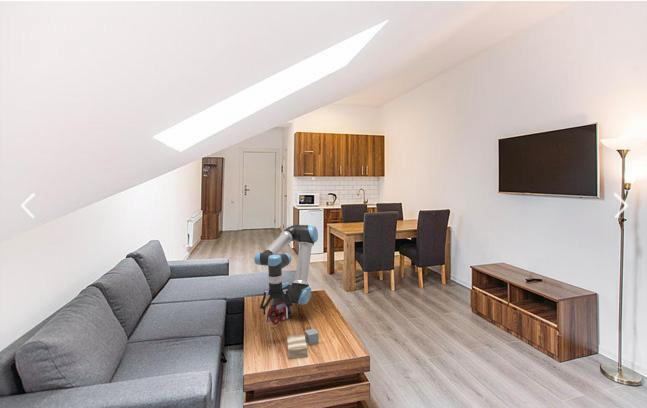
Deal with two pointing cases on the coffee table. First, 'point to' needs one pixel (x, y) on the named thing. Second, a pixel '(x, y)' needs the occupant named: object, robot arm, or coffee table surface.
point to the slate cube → (311, 336)
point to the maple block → (296, 346)
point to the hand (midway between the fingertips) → (276, 318)
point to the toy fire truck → (277, 313)
